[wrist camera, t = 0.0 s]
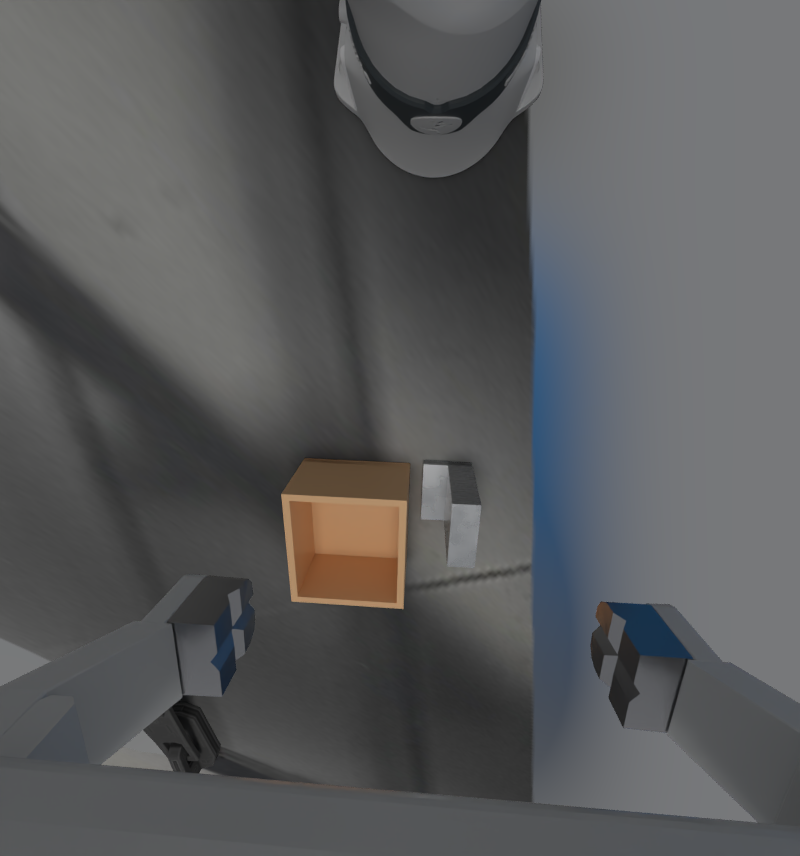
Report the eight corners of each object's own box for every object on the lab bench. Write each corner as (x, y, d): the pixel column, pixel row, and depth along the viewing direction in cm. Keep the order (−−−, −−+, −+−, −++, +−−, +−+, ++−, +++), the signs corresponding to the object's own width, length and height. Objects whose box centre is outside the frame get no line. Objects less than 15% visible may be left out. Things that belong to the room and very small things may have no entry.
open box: (304, 458, 52) (281, 494, 44) (410, 463, 51) (406, 500, 43) (311, 553, 57) (291, 601, 49) (406, 558, 57) (403, 608, 48)
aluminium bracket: (466, 516, 54) (474, 567, 44) (421, 513, 54) (419, 564, 45) (471, 462, 51) (481, 505, 41) (423, 460, 51) (423, 502, 42)
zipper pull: (164, 699, 61) (207, 798, 70) (188, 659, 67) (225, 755, 76) (109, 699, 62) (159, 797, 71) (138, 660, 68) (180, 755, 77)
